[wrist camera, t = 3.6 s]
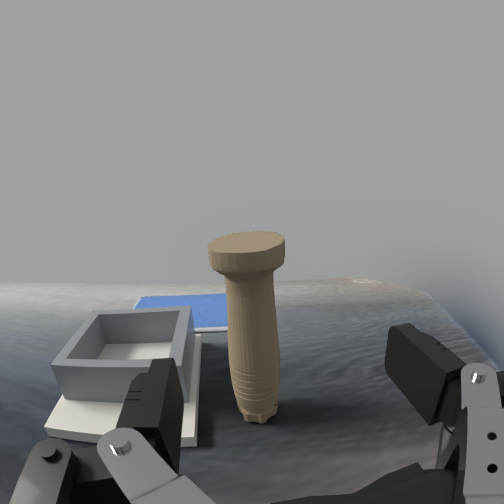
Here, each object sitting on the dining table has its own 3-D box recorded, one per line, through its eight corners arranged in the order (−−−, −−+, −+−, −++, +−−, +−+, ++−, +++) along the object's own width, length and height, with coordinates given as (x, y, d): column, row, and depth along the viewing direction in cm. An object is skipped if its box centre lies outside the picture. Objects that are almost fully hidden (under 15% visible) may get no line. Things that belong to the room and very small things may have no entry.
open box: (196, 446, 21) (184, 399, 19) (49, 436, 19) (25, 391, 18) (201, 342, 37) (196, 303, 36) (99, 346, 36) (89, 309, 35)
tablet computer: (254, 297, 52) (253, 289, 52) (258, 333, 40) (258, 324, 40) (141, 302, 52) (140, 295, 51) (117, 337, 39) (115, 329, 39)
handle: (289, 391, 27) (287, 230, 23) (281, 441, 21) (278, 252, 17) (238, 388, 28) (224, 232, 24) (221, 435, 22) (195, 253, 18)
